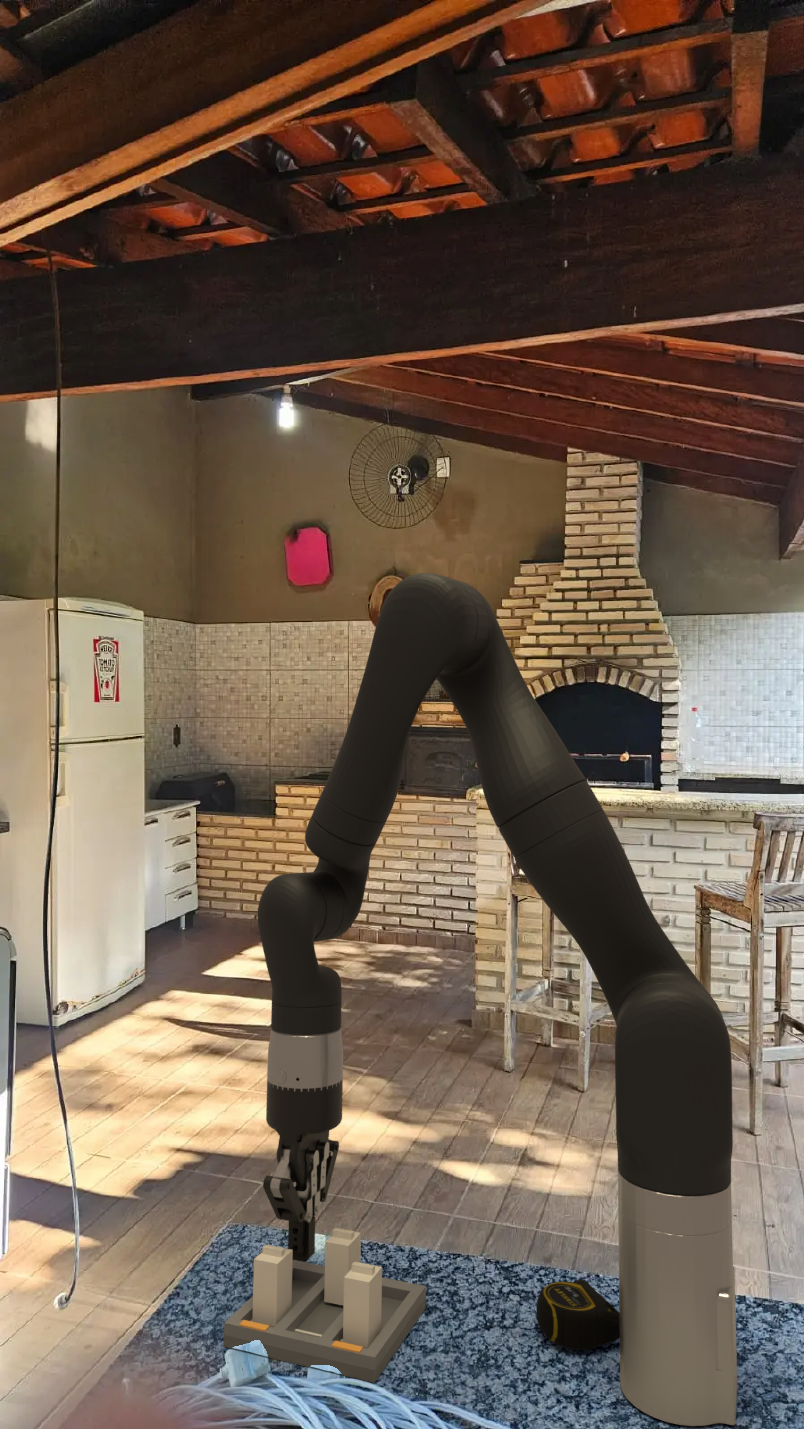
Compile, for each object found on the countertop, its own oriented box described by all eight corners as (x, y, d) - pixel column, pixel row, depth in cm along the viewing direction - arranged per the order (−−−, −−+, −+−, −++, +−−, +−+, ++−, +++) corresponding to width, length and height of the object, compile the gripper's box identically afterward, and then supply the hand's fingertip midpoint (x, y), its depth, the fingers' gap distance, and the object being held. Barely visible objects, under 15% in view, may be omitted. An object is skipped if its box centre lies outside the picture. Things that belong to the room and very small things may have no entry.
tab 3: (291, 1310, 88) (292, 1242, 89) (275, 1327, 86) (277, 1256, 86) (268, 1305, 89) (270, 1238, 90) (252, 1321, 87) (254, 1252, 87)
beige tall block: (381, 1330, 85) (382, 1260, 86) (368, 1348, 82) (369, 1274, 83) (356, 1325, 86) (357, 1255, 87) (342, 1342, 83) (344, 1270, 84)
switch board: (425, 1307, 92) (426, 1284, 92) (374, 1382, 80) (374, 1355, 80) (291, 1280, 97) (291, 1258, 97) (223, 1346, 85) (224, 1321, 85)
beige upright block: (360, 1291, 92) (361, 1226, 93) (347, 1306, 89) (348, 1239, 90) (337, 1286, 93) (338, 1222, 94) (324, 1301, 90) (325, 1234, 91)
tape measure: (627, 1352, 85) (626, 1308, 85) (557, 1365, 83) (557, 1319, 83) (589, 1313, 91) (589, 1272, 92) (524, 1324, 89) (524, 1282, 90)
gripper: (311, 1097, 88) (307, 1296, 86) (364, 1062, 100) (362, 1235, 98) (239, 1088, 90) (233, 1281, 88) (299, 1055, 103) (296, 1224, 101)
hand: (301, 1257), depth 93 cm, fingers closed
